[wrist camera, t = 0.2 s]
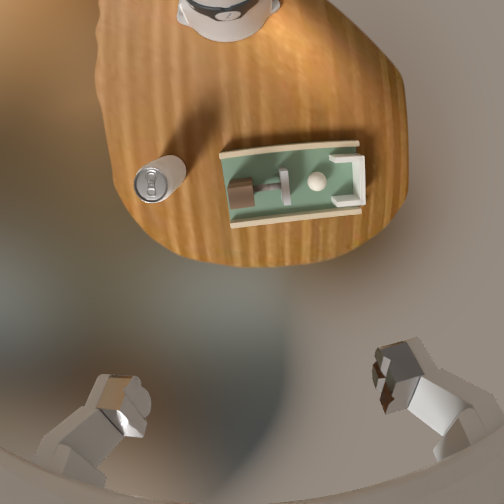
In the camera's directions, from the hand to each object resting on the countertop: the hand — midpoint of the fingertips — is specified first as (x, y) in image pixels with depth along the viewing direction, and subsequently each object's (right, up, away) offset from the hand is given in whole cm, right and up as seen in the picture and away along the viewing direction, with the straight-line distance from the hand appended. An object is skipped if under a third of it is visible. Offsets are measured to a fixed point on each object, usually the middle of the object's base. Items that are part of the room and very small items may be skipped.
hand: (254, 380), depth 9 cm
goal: (+17, +18, +42) cm, 49 cm away
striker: (+1, +16, +43) cm, 46 cm away
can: (-15, +19, +43) cm, 50 cm away
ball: (+12, +17, +41) cm, 46 cm away
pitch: (+8, +18, +44) cm, 48 cm away
